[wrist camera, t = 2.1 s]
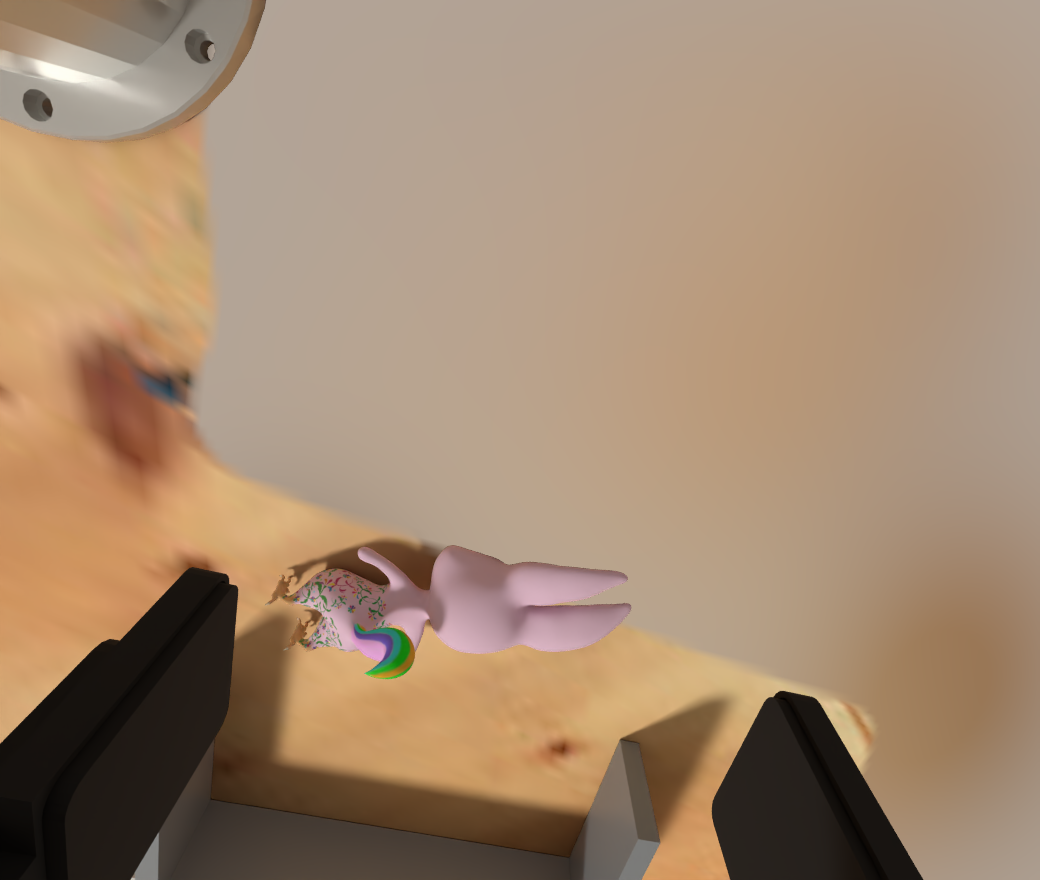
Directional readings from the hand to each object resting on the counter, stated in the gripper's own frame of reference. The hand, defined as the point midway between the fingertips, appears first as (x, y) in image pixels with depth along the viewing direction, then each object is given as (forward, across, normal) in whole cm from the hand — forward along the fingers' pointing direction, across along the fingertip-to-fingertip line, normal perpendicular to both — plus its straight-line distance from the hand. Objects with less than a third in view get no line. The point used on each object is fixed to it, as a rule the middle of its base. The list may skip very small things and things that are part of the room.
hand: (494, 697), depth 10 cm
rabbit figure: (+14, +1, +8) cm, 17 cm away
